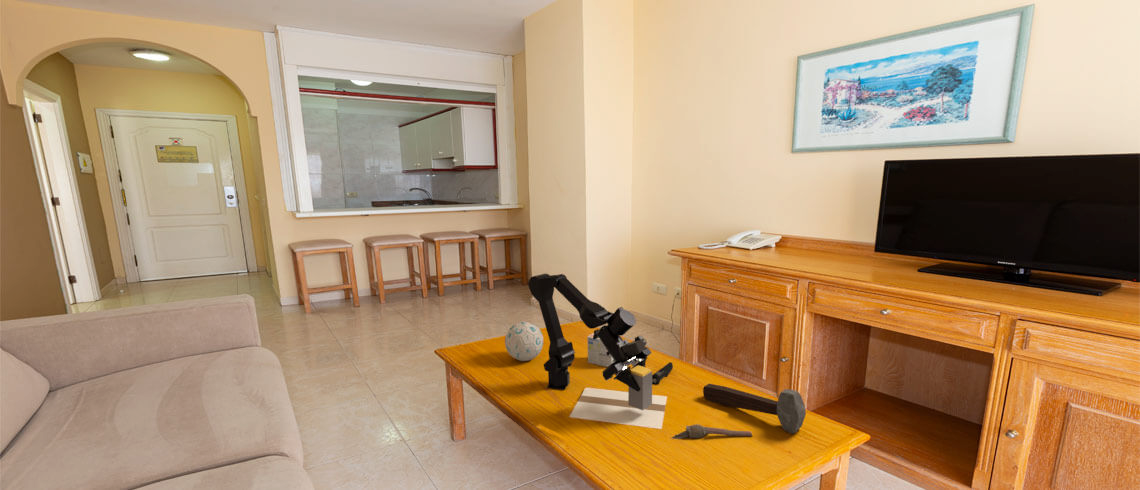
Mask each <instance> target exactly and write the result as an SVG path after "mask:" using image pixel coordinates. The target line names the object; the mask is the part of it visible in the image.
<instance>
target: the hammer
mask: <svg viewBox="0 0 1140 490" xmlns="http://www.w3.org/2000/svg"><path fill="white" fill-rule="evenodd" d="M702 394H703V397H704V400H705V401H708V402H710V403H714V404H718V405H721V406H726V407H731V408H734V409H735V408H736V409H742V410H746V411H752V412H758V413H764V414H769V415H774V416H777V419H778V421H779V422H780V425H781V427H782V429H783V430H784V431H785V432H787V433H790V434H791V435H794V434H795V433H796V432H798V431H799V430H800V428H801V427H802V426H803V423H804V420H805V418H806V415H807V412H806V406H805V403H804V399H803V398H802V395H801V394H800V392H799V391H797V390H796V389H795V390H794V389H788V388H785V389H783V390H782V391H781V392H780V393H779V395H778V400H774V399H770V398H767V397H763V396H760V395H756V394H754V393H749V392H745V391H744V390H743V391H742V390H739V389H736V388H732V387H729V386H724V385H719V384H713V383H708V384H706V385H704V386H703V389H702Z"/></svg>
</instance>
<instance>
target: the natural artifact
mask: <svg viewBox="0 0 1140 490" xmlns="http://www.w3.org/2000/svg"><path fill="white" fill-rule="evenodd" d="M705 435H720V436H728V437H729V436H734V437H737V436H738V437H740V436H742V437H753V433H752V432H751V431H750V430H749V431H748V430H747V431H746V430H745V431H744V430H729V429H725V428H719V427H709V426H703V425H702V424H698V423H697V424H692V425H686V426H685V430H684V431H681V432H680V433H678V434H674V436H671V437H670V438H671V439H675V440H681V439H682V440H683V439H686V438H688V439H702V438H703V437H705Z"/></svg>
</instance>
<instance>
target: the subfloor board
mask: <svg viewBox="0 0 1140 490" xmlns="http://www.w3.org/2000/svg"><path fill="white" fill-rule="evenodd" d="M667 399H668V395H667V396H666V395H665V396H664V395H657V394H655V395H654V394H652V404H651V405H650V406H648V407H647V408H646V409H644V410H640V409H637V408H635V407H632V406H630V405H628V391H621V390H614V389H612V390H611V389H602V388H596V387H595V388H593V387H585V388H584V390H583V392H582V393H581V395H580V397H579V399H578V401H577V402H576V403H575V406H574V407H573V409H572V410H571V413H570V414H569V416H568V417H569V418H573V419H581V420H589V421H598V422H604V423H605V422H606V423H612V424H619V425H620V424H621V425H628V426H636V427H640V428H641V427H642V428H648V429H649V428H650V429H659V430H662V428H663V423H664V417H665V412H666V404H667Z"/></svg>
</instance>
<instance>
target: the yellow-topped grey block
mask: <svg viewBox="0 0 1140 490" xmlns="http://www.w3.org/2000/svg"><path fill="white" fill-rule="evenodd" d="M631 368H632V367H631ZM631 374H632V376H633V377H634V379H635V381H636V382H637V384H638V386H639V388H640V391H638V392H637V391H636V390H634V389H633V388H631V387H629V386H628V391H627V392H628V405H630V406H632V407H635V408H637V409H640V410H644V409H646V408H647V407H648V406H650V405H651V404H652V395H653V384H652V375H653V371H652V369H651V368H648V367H643V366H639V365H638V366H636V367H634V368H632V369H631Z"/></svg>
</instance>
